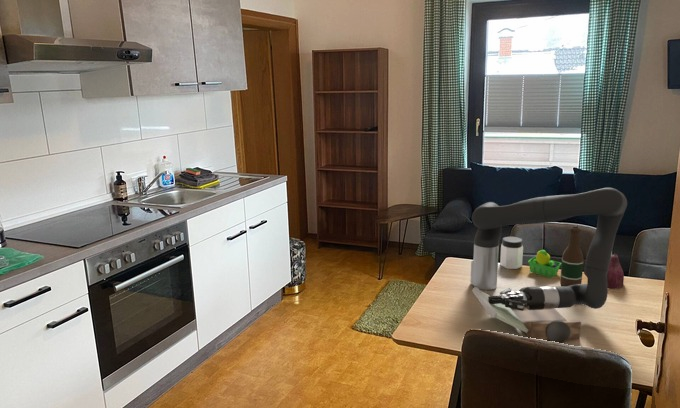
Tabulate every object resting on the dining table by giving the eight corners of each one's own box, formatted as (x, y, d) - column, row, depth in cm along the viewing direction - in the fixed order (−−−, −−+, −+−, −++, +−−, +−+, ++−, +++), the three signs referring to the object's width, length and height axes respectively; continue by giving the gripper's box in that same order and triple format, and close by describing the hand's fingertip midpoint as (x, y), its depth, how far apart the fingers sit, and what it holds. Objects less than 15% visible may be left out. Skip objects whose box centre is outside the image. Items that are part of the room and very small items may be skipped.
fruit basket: (561, 274, 208) (563, 248, 205) (552, 280, 202) (554, 254, 199) (534, 267, 216) (536, 242, 213) (524, 273, 210) (526, 247, 207)
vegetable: (624, 296, 193) (638, 265, 186) (596, 291, 195) (608, 260, 187) (617, 280, 202) (630, 249, 194) (590, 275, 204) (602, 245, 196)
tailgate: (507, 302, 176) (474, 286, 174) (529, 328, 158) (492, 310, 156) (504, 307, 177) (471, 291, 175) (525, 334, 158) (488, 316, 156)
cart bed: (545, 304, 181) (546, 286, 179) (582, 342, 155) (584, 321, 154) (503, 306, 181) (504, 288, 179) (534, 344, 155) (535, 323, 153)
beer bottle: (555, 283, 199) (560, 225, 193) (574, 282, 200) (579, 224, 194) (565, 291, 191) (571, 231, 186) (585, 290, 192) (591, 230, 186)
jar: (500, 268, 216) (501, 241, 213) (500, 261, 224) (501, 235, 221) (522, 270, 213) (523, 243, 210) (521, 263, 221) (523, 237, 218)
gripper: (533, 279, 171) (483, 281, 171) (550, 295, 158) (496, 298, 158) (532, 299, 173) (482, 301, 173) (549, 317, 160) (495, 319, 160)
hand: (489, 300), depth 165 cm, fingers closed
